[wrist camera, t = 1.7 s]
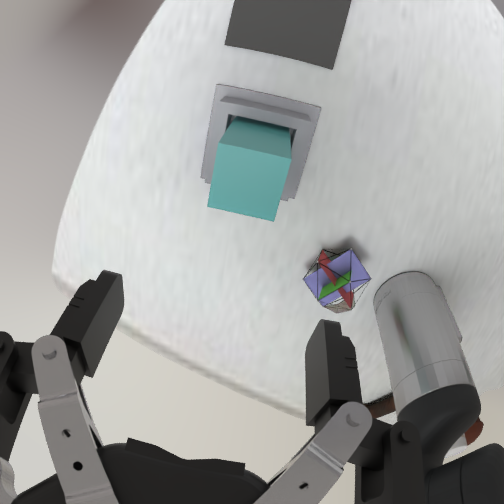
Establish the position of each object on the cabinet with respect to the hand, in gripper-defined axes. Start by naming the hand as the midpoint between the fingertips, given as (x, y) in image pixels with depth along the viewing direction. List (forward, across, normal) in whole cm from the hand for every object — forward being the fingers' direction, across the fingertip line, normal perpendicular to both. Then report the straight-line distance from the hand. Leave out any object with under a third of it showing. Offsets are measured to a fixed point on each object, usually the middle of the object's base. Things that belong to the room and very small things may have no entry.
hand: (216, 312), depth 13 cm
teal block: (+22, 0, 0) cm, 22 cm away
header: (+23, 0, 0) cm, 23 cm away
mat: (+23, 0, -14) cm, 27 cm away
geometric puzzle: (+23, -12, +12) cm, 29 cm away
